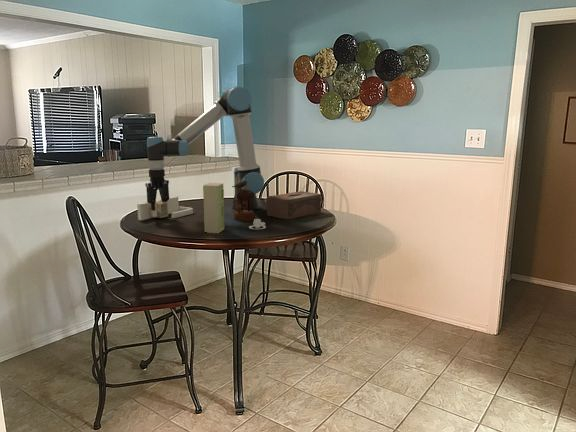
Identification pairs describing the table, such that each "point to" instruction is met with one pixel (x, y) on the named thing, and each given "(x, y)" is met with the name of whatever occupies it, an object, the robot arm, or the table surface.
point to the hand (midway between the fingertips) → (159, 215)
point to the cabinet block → (161, 209)
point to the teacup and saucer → (258, 224)
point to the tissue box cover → (293, 204)
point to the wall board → (172, 209)
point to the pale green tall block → (213, 207)
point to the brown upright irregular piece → (243, 195)
